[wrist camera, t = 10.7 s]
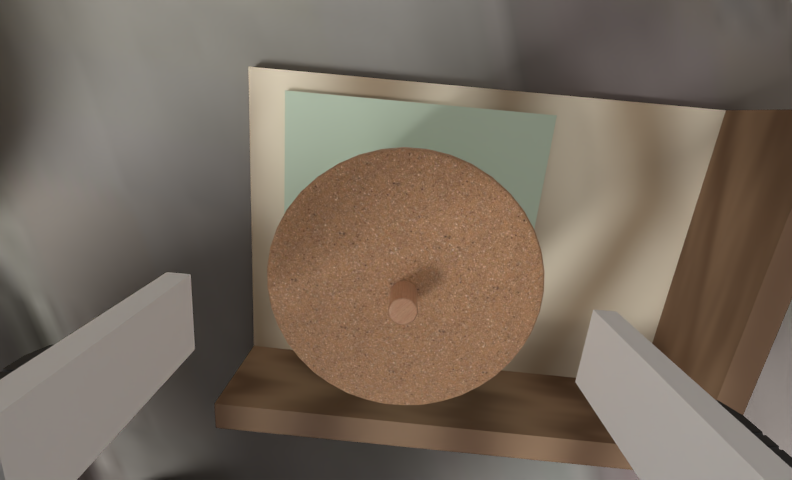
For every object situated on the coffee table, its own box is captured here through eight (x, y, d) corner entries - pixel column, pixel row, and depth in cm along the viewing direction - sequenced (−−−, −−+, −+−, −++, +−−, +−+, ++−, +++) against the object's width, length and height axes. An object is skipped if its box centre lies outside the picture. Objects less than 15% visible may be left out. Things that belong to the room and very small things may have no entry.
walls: (257, 360, 27) (215, 427, 21) (252, 67, 22) (195, 51, 16) (651, 399, 27) (716, 478, 21) (746, 112, 21) (869, 112, 16)
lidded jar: (542, 235, 23) (627, 315, 14) (405, 351, 25) (402, 482, 16) (407, 91, 21) (403, 75, 12) (274, 233, 23) (187, 307, 14)
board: (257, 360, 27) (254, 366, 26) (252, 67, 22) (248, 66, 21) (651, 399, 27) (656, 406, 26) (746, 112, 21) (755, 112, 21)
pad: (285, 328, 25) (283, 330, 25) (286, 90, 21) (285, 90, 21) (508, 350, 25) (509, 352, 25) (554, 115, 21) (556, 115, 21)
